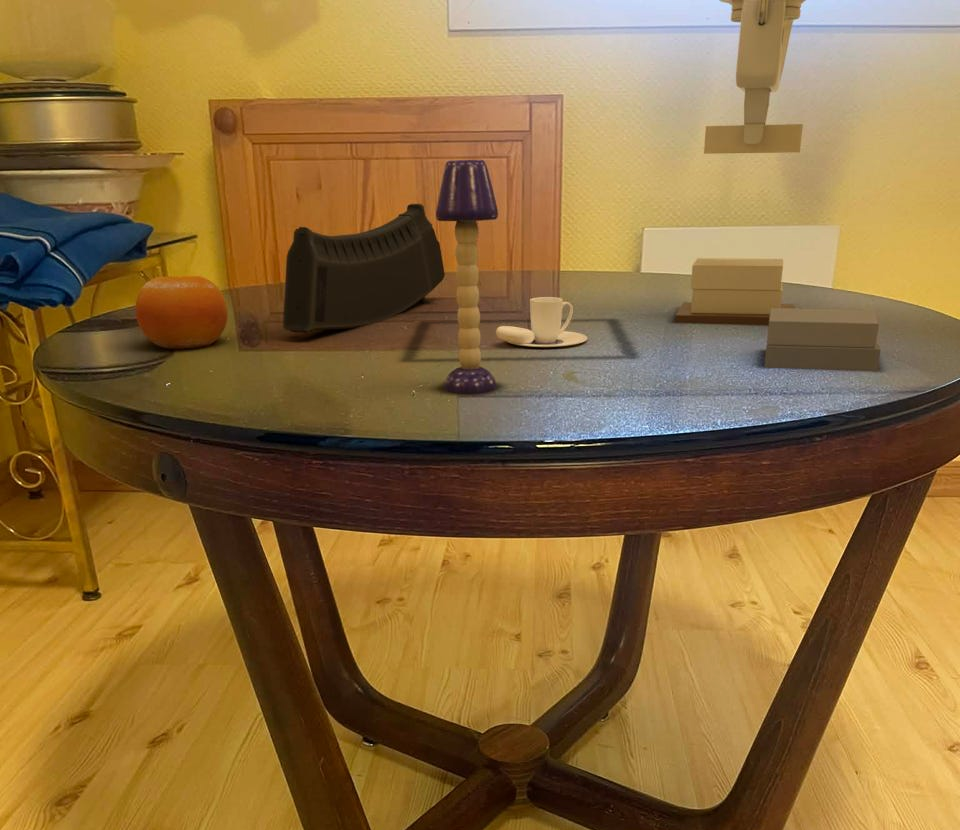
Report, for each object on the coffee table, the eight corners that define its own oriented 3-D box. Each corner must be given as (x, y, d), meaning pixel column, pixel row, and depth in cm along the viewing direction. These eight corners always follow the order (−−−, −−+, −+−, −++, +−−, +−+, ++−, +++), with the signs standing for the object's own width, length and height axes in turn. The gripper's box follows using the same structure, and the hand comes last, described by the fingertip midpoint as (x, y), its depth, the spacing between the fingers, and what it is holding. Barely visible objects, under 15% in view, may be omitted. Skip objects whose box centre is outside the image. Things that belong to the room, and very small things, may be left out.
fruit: (236, 299, 104) (189, 235, 98) (248, 343, 98) (199, 278, 92) (167, 340, 105) (116, 279, 99) (175, 386, 99) (122, 324, 93)
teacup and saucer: (495, 352, 94) (495, 306, 92) (497, 336, 101) (496, 294, 99) (589, 351, 94) (591, 305, 92) (584, 335, 101) (585, 292, 99)
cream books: (793, 313, 110) (799, 257, 108) (793, 327, 103) (800, 267, 100) (682, 311, 113) (686, 256, 111) (674, 324, 106) (678, 266, 103)
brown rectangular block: (870, 357, 89) (878, 309, 87) (876, 373, 83) (884, 323, 81) (765, 353, 91) (770, 307, 90) (764, 369, 85) (769, 321, 84)
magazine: (288, 250, 93) (424, 140, 113) (259, 249, 95) (398, 140, 114) (331, 413, 105) (448, 288, 124) (305, 410, 106) (425, 287, 125)
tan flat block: (799, 150, 101) (802, 124, 100) (799, 152, 96) (802, 124, 95) (707, 152, 104) (709, 126, 103) (703, 153, 98) (705, 126, 97)
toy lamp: (433, 387, 82) (424, 160, 75) (485, 380, 84) (481, 158, 76) (455, 399, 78) (448, 161, 71) (510, 392, 80) (509, 159, 72)
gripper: (806, -41, 84) (786, 145, 90) (802, -12, 101) (786, 141, 108) (728, -36, 85) (714, 146, 91) (738, -9, 103) (725, 142, 109)
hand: (753, 143), depth 100 cm, fingers closed on tan flat block, 6 cm apart
